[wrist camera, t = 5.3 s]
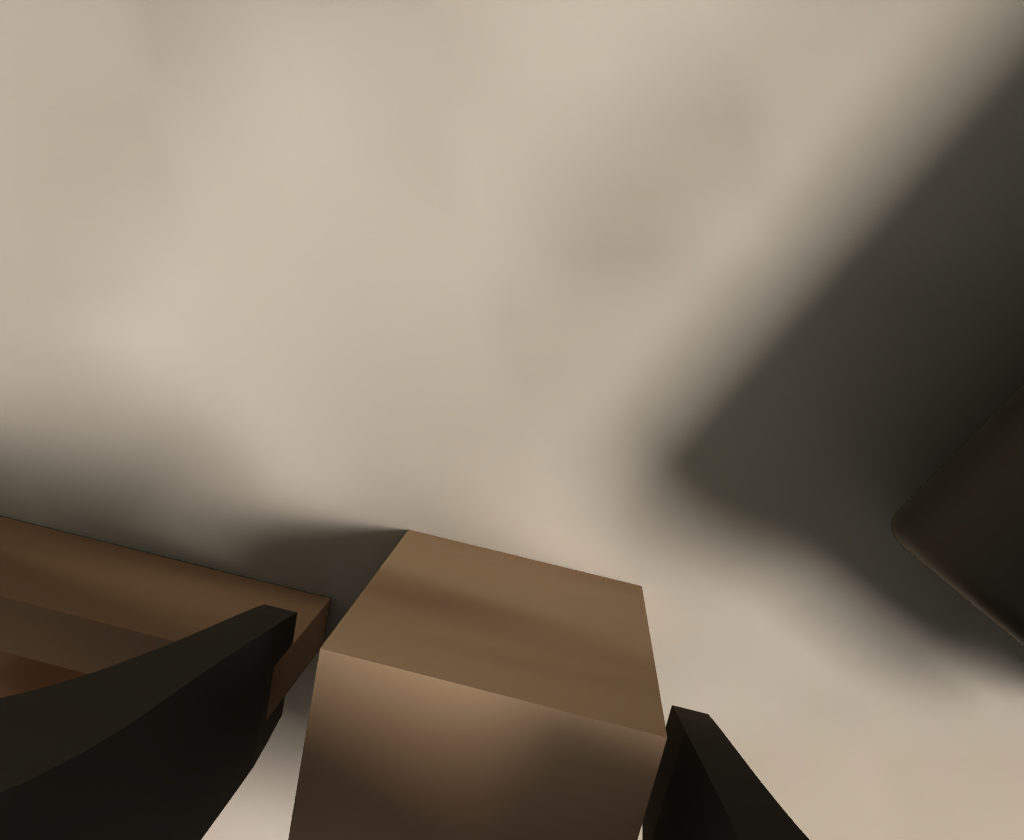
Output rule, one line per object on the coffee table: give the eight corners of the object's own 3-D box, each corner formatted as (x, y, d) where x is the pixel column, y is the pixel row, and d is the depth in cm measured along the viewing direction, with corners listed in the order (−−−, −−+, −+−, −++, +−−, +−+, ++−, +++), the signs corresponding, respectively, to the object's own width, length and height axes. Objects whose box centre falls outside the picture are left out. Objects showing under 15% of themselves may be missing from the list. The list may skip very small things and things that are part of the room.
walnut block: (586, 788, 14) (584, 1019, 10) (371, 731, 14) (273, 930, 10) (641, 584, 13) (667, 736, 9) (410, 528, 13) (319, 648, 9)
